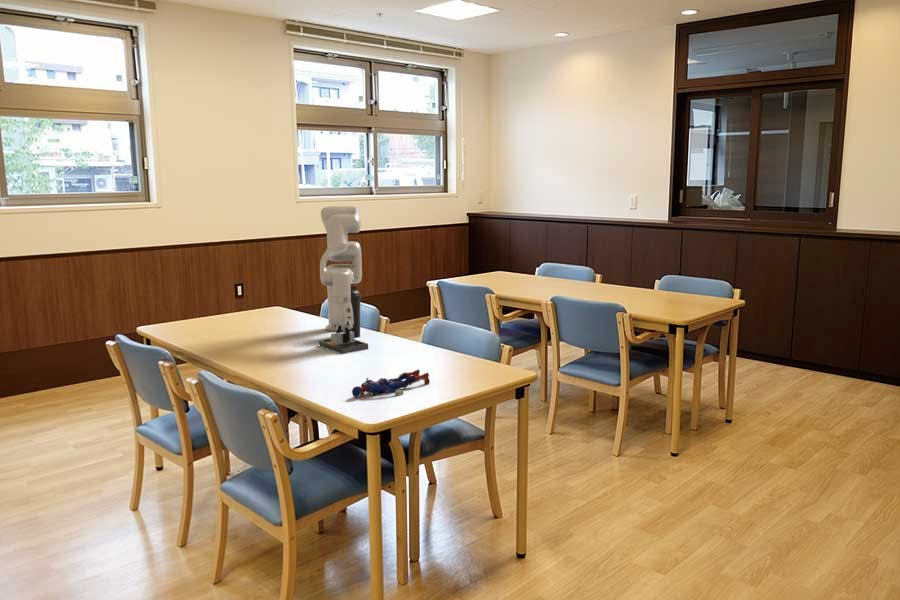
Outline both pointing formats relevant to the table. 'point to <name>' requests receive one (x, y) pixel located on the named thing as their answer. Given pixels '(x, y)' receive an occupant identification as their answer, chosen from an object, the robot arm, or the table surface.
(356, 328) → the water bottle
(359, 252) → the robot arm
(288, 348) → the table surface
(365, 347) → the rack
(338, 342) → the rectangular block
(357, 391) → the figurine
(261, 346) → the table surface
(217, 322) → the table surface
